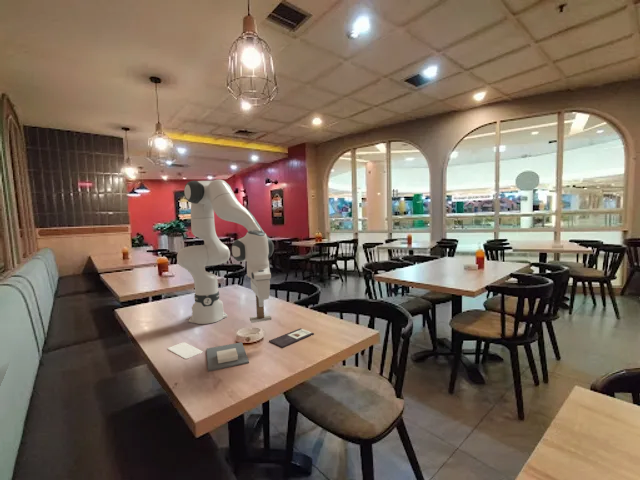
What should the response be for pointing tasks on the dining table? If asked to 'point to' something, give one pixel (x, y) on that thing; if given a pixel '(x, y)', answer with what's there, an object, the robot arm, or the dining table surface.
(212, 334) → the dining table surface
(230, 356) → the tile
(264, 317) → the stamp
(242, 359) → the mat
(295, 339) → the chocolate bar
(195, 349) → the white flat slab
